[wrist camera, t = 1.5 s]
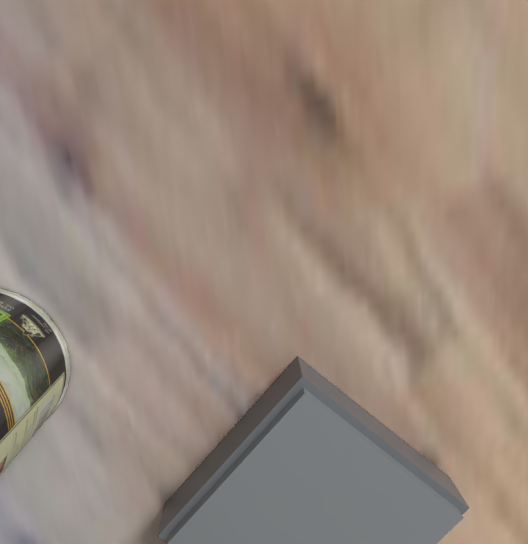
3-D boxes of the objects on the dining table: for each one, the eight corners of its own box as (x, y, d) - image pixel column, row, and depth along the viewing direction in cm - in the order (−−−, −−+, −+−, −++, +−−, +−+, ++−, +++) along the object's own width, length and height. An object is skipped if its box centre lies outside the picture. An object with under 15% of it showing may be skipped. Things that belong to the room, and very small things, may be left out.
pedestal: (165, 502, 35) (155, 545, 31) (297, 356, 33) (303, 382, 29) (317, 608, 37) (324, 661, 33) (449, 476, 35) (474, 516, 31)
